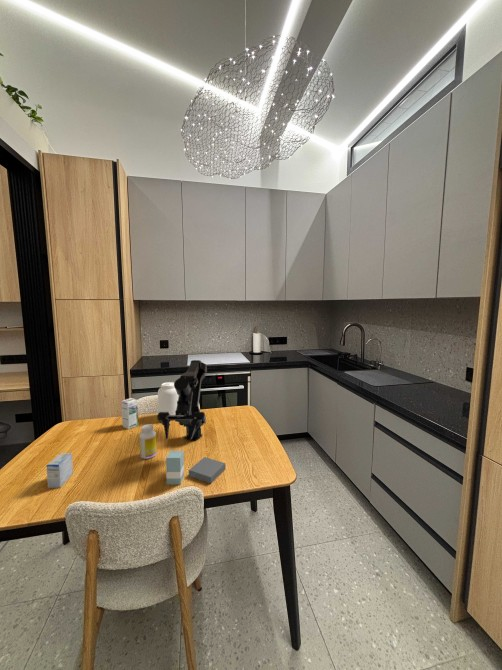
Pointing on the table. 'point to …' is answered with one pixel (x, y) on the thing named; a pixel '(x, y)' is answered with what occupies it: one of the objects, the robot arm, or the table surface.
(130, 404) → the syrup box
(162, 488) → the table surface
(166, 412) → the robot arm
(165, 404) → the white plastic jar
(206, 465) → the podium
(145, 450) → the supplement bottle
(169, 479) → the carton
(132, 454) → the table surface
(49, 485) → the medicine box
